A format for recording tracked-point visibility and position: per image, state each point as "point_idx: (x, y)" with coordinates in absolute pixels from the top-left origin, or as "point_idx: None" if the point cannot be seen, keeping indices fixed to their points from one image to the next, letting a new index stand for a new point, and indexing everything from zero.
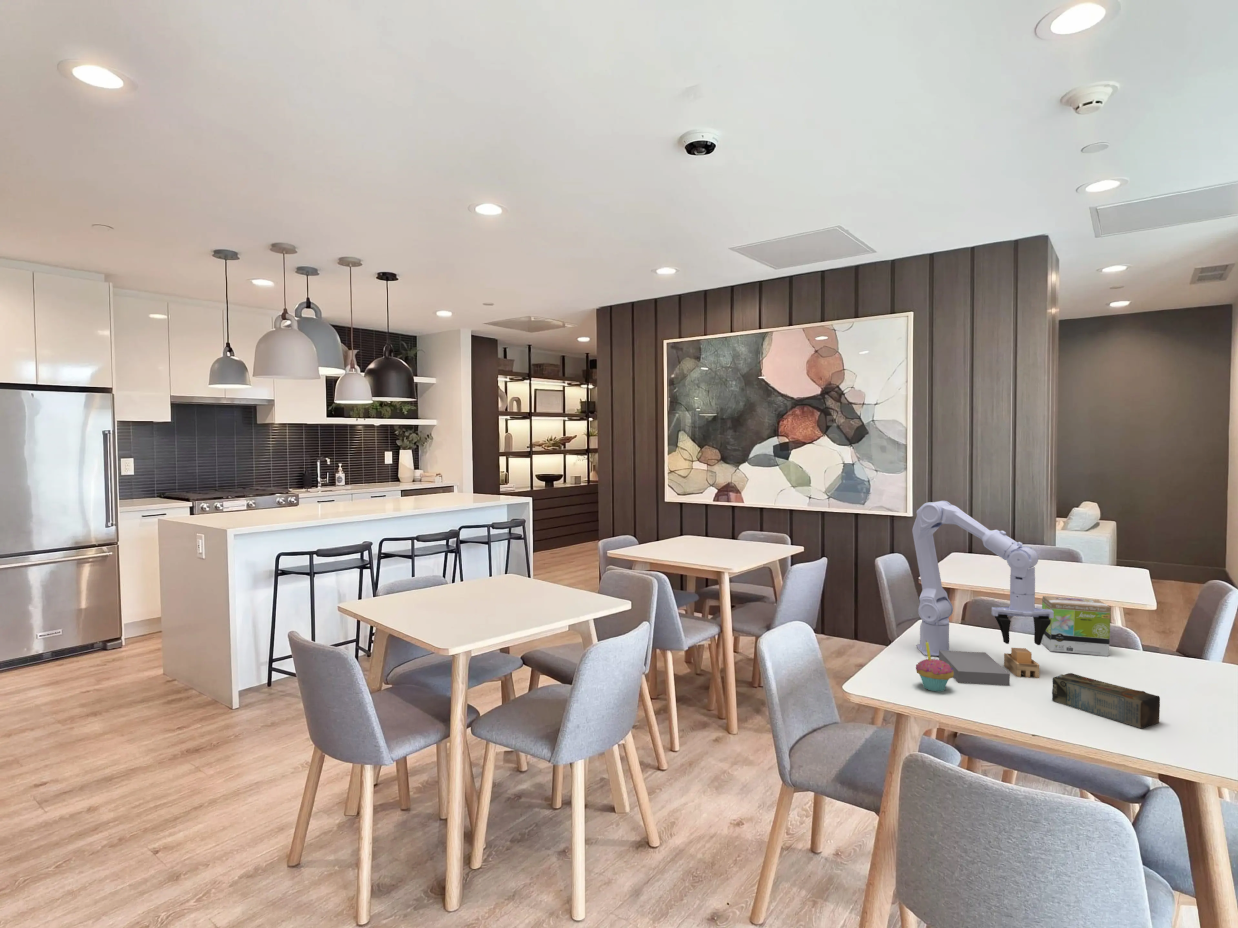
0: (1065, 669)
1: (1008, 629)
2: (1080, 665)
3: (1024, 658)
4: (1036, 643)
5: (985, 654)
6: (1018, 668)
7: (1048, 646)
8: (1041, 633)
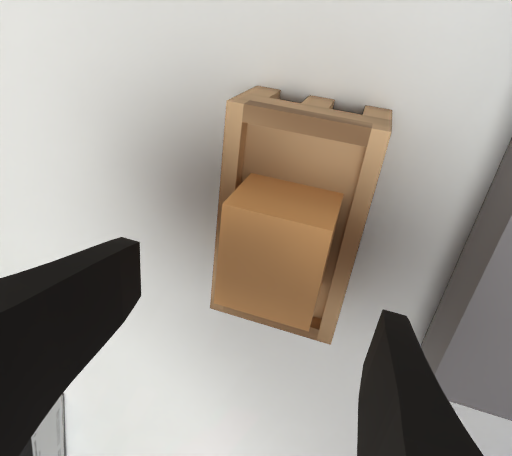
0: (73, 214)
1: (416, 431)
2: (5, 254)
3: (286, 196)
4: (136, 267)
5: (456, 365)
6: (380, 119)
7: (55, 419)
8: (33, 281)
